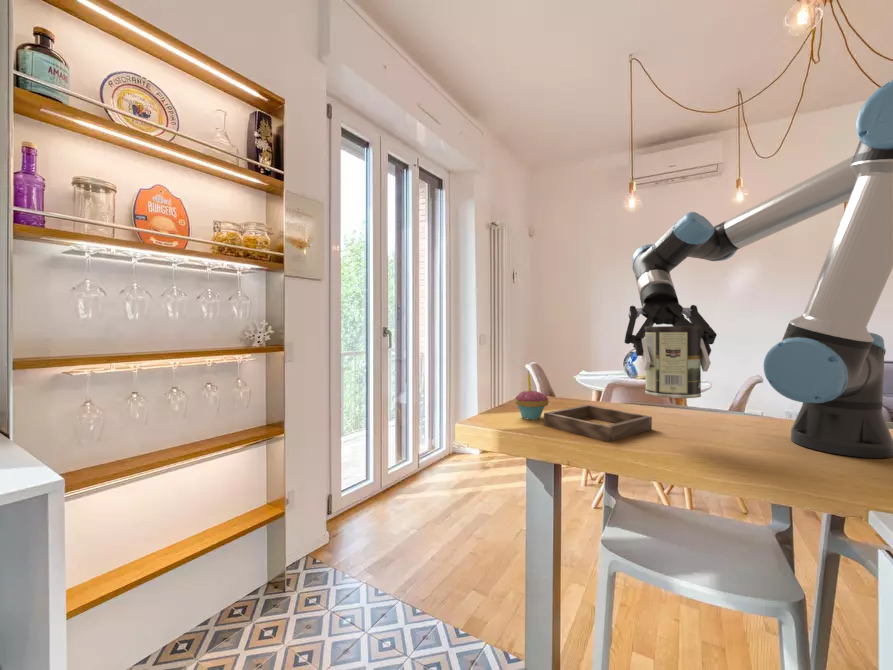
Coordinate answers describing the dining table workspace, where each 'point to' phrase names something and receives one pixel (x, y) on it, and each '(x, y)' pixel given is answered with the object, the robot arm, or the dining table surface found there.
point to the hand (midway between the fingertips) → (676, 366)
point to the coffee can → (674, 361)
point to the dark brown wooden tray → (572, 423)
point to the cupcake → (531, 402)
